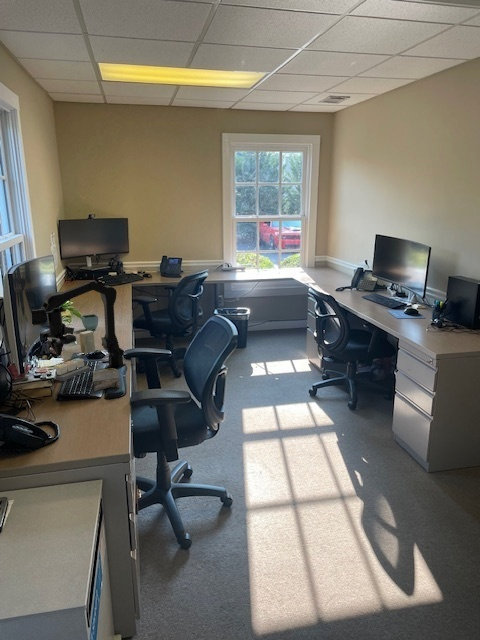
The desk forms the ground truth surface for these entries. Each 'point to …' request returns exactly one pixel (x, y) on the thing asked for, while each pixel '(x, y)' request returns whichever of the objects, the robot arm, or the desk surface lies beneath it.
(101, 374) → the geological specimen
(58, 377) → the keypad base
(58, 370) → the key
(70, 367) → the key
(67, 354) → the desk surface
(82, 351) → the skincare box
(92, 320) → the flower pot
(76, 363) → the key
